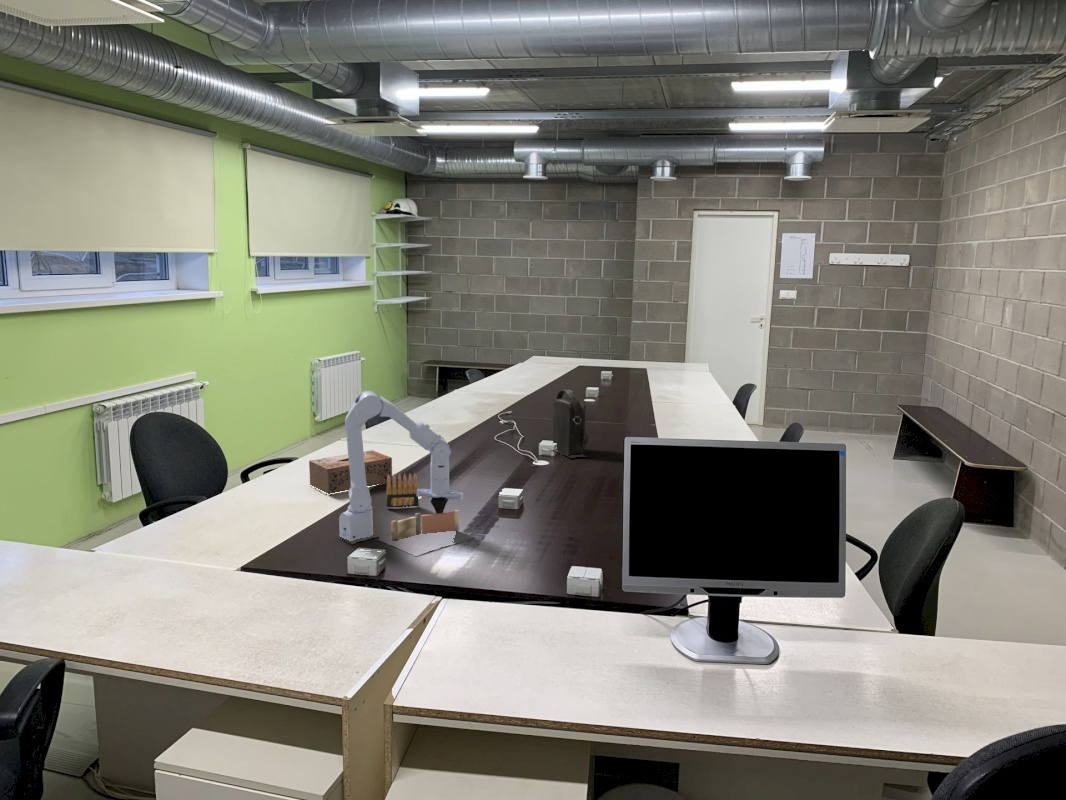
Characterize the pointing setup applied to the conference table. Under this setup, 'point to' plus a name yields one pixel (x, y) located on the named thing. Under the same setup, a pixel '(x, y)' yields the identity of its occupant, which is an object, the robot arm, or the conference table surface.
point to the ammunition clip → (395, 493)
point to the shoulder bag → (569, 424)
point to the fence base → (406, 527)
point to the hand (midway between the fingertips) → (440, 520)
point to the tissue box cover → (348, 471)
